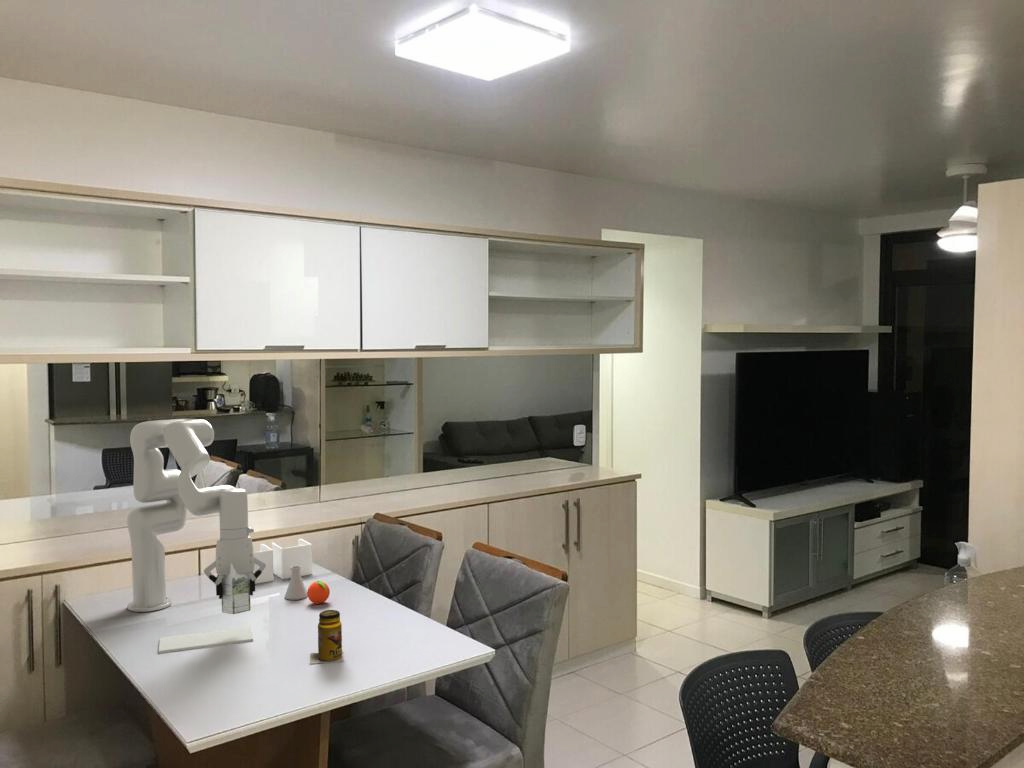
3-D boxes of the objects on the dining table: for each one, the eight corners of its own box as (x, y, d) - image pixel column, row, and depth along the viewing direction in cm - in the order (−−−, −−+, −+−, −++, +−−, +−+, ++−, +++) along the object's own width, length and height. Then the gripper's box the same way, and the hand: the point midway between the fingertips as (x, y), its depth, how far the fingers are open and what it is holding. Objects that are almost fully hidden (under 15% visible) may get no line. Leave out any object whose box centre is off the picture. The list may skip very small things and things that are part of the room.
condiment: (343, 661, 216) (343, 615, 215) (309, 664, 214) (309, 618, 213) (343, 651, 223) (342, 607, 222) (310, 654, 221) (309, 609, 220)
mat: (160, 639, 233) (160, 637, 233) (250, 628, 242) (250, 626, 242) (158, 653, 223) (158, 650, 223) (253, 641, 231) (253, 638, 231)
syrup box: (239, 608, 239) (237, 557, 239) (251, 610, 235) (249, 558, 236) (221, 612, 234) (219, 560, 235) (233, 615, 231) (230, 561, 231)
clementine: (336, 603, 265) (335, 581, 264) (317, 608, 260) (317, 586, 259) (321, 598, 270) (321, 576, 270) (303, 603, 265) (302, 581, 265)
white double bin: (241, 586, 286) (241, 554, 285) (232, 579, 295) (231, 548, 295) (312, 574, 300) (311, 544, 300) (301, 568, 309) (300, 538, 309)
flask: (280, 599, 270) (279, 568, 270) (294, 593, 277) (293, 563, 276) (298, 601, 267) (298, 570, 267) (312, 595, 274) (311, 565, 274)
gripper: (265, 528, 240) (267, 588, 241) (200, 533, 234) (202, 596, 235) (267, 533, 233) (269, 595, 234) (201, 539, 227) (203, 603, 228)
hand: (235, 595), depth 235 cm, fingers closed on syrup box, 7 cm apart
